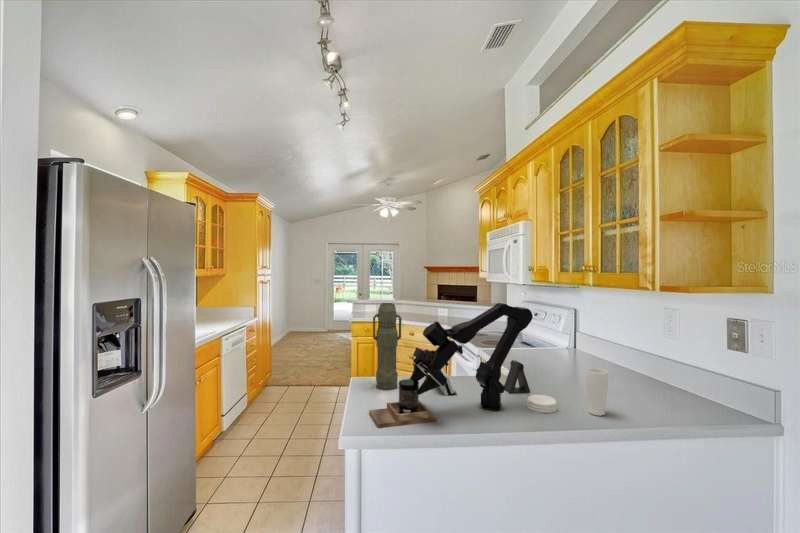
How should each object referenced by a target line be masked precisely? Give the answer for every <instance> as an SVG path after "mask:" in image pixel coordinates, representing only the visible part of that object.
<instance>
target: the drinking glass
mask: <svg viewBox="0 0 800 533" xmlns="http://www.w3.org/2000/svg"><path fill="white" fill-rule="evenodd" d="M608 386H609V372H608V371H607V370H606V369H604V368H603V369H602V368H597V367H594V368H593V367H589V368H587V369H586V391H587V392H586V393H587V394H586V395H587V410H588V413H589V414H590V415H594V416H597V417H599V416H600V417H601V416H602V415H603V416H605V415H606V406H607V397H608Z"/></svg>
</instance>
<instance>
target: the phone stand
mask: <svg viewBox="0 0 800 533" xmlns="http://www.w3.org/2000/svg"><path fill="white" fill-rule="evenodd" d="M509 365H510V367H509V371H508V374H507V377H506V378H505V379H506V380H505V383H504V384H503V386H504V387H505V390H504V391H505V392H507V393H508V394H510V395H514V394H530V393H531V389H530V387H529V383H528V379H527V377H526V375H525V371H524V368H525V367H524V364H523V363H521V362H520V361H517V360H515V359H514V360H513V359H512V360H511V361H510V363H509ZM517 382H518V387H516V386H517Z"/></svg>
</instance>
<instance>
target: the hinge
mask: <svg viewBox="0 0 800 533" xmlns="http://www.w3.org/2000/svg"><path fill="white" fill-rule="evenodd" d="M440 372H441V373H442V374H443V375H444V376H445V377H446V378H447V383H446V384H445V385H444V386H442V385H441V384H439V385H440V387H438V389H439V390H440V392H442V394H443V395H444V396H445V397H447V396H449V395H450V394H451V395H453V394H455V395H456V396H458V392H457V391H456V389H455V388H454V387H453V386H452V384H451V381H450V379H449V375H448V374H447V372H446V371H445V369H444V367H443V368H442V369H441V370H440Z"/></svg>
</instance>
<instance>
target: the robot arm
mask: <svg viewBox="0 0 800 533" xmlns="http://www.w3.org/2000/svg"><path fill="white" fill-rule="evenodd" d="M503 316H505V317H507V319H506V328H504V329H505V330H504V331H503V333H502V335H501V337H500V339H499V340H498V343H497V344H496V346H495V348H494V349H493V352H492V354H491V355H490V357H489V359H488V360H487V361H485V362H483V361H480V363H479V365H478V368H477V369H476V370H475V371H476V373H475V379H476V381H477V383H478V384H479V387H480V388H482V390H481V393H480V405H481V406H480V408H481V409H484V410H493V411H498V412H499V411H500V410H501V408H502V406H503V405H502V394H503V393H504V392H505V391H506V390H505V387H504V384H502V383H501V381H500V379H501V377H502V365H503V364H504V362H505V361H506V358H507V357H508V355H509V353H510V350H511V349H512V347H513V346H514V343H515V341H516V340H517V337H518V335H519V334H520V333H521V332H522V331H524V330H525V329H526V328H527V327H528V326H529V325H530V323H531V322H532V320H533V316H534V315H533V312H532V310H530V309H529V308H526V307H522V306H521V307H520V306H511V305H508V304H507V303H501V302H496V303H495V305H493V306H492V307H490V308H488V309H486V310H485V311H484V312H482V313H481V314H479V315H477V316H476V317H474V318H472V319H470V320H468V321H467V320H466V321H463V322H460V323H457V324H455V325H453V326H452V327H451V328H448V329H445V328H444V327H443V326H442V325H441V324H440V322H439V321H436V320H435V321H434V322H433V323H431V324H429V325H427V326H426V327H425V328H424V330H423V331H422V336H424V338H425V339H427V341H428V342H429V343H431V345H432V346H434V347H437V348H436V349H435V350H429V349H423V348H419V347H415V349H414V352H413V354H412V356H413V357H415V358H414V359H413V360H412V362H413V363H412V365H413V371H412V374H411V375H410V378H409V379H412V380H416V381H418V382H419V381H420V380H421V379H423V378H425V379H424V380H423V382H422V383H421V385H419V389H418V391H417V394H418V395H419V396H420V395H423V394H424V393H426V392H429V391H432V390H434V389H436V388H439V387H440V385H439V384H441V385H442V386H444V385H445V384H446V383H447V378H446V377H445V376H444V375H443V374H442V373H441V372H440V370H441V369H442V368H443V369H444V367H445V366H446V367H448V366H449V365H450V364H449V361H450V360H451V359H452V358H453V357H454V356H455V354H456V353H458V354H460V355H463V354H464V350H463V345H466V344H468V343H470V341H471V340H473V339H474V338H475V337H476V335H477V333H479V332H480V331H481V330H482V329H485V327H487V326H489V325H490V324H492V323H493V322H494V323H495V321H497V320H498V319H500V318H501V317H503ZM450 339H452V340H450ZM456 342H457V343H460V344H459V345H458V344H457V343H456ZM461 344H463V345H461Z"/></svg>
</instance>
